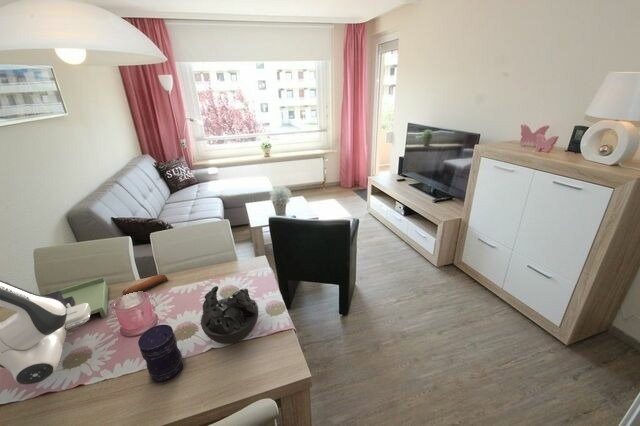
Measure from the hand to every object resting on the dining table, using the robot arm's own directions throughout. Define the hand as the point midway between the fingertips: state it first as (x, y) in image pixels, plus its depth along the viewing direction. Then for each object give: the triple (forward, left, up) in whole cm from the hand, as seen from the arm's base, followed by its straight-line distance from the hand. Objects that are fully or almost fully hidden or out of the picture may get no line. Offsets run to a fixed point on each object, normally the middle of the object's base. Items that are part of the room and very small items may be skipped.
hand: (54, 309), depth 99 cm
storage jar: (+27, -30, -18) cm, 44 cm away
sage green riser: (-1, +23, -18) cm, 29 cm away
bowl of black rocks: (+50, -28, -18) cm, 60 cm away
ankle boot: (0, +4, -7) cm, 8 cm away
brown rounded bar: (+24, +25, -18) cm, 39 cm away
